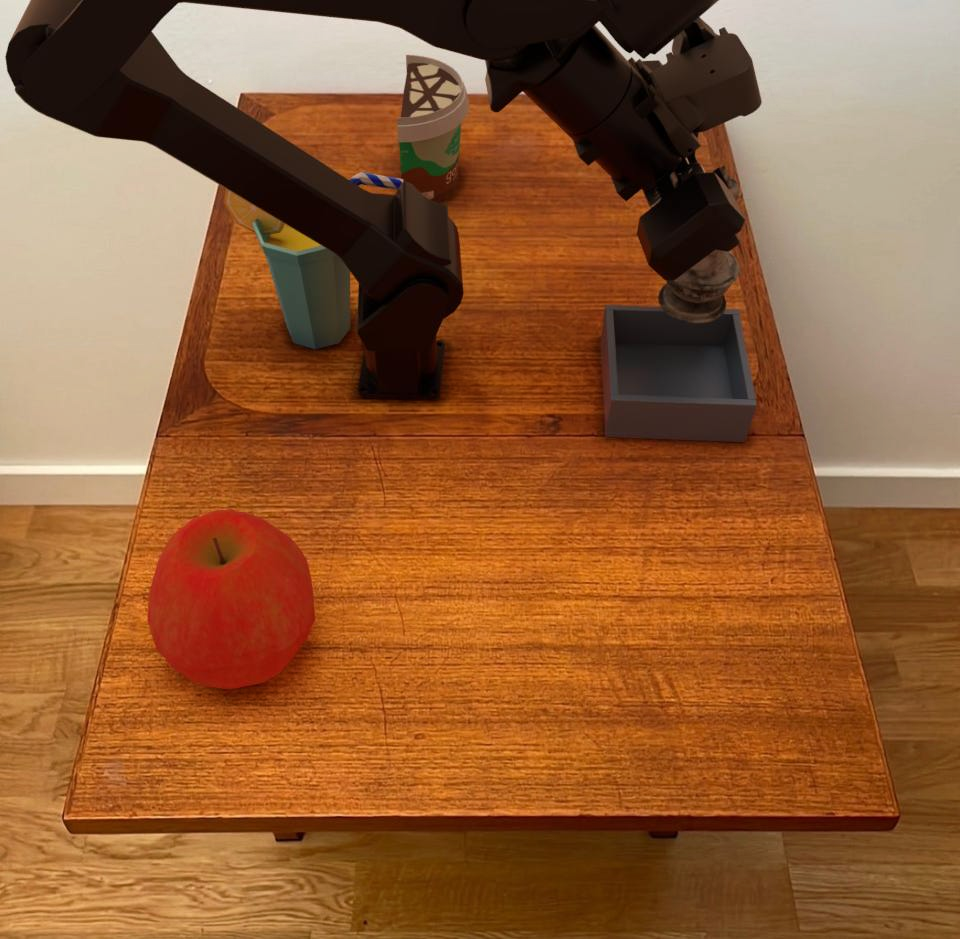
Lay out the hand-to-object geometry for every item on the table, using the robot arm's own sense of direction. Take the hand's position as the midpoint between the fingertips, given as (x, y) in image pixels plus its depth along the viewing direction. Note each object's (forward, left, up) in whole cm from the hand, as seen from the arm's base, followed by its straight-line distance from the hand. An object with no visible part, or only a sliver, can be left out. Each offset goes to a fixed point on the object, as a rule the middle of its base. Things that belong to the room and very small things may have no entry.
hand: (726, 230), depth 73 cm
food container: (+24, +23, -12) cm, 35 cm away
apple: (-28, +32, -12) cm, 45 cm away
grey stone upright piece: (0, +1, -7) cm, 7 cm away
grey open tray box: (-4, +3, -12) cm, 13 cm away
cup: (+2, +31, -12) cm, 33 cm away
